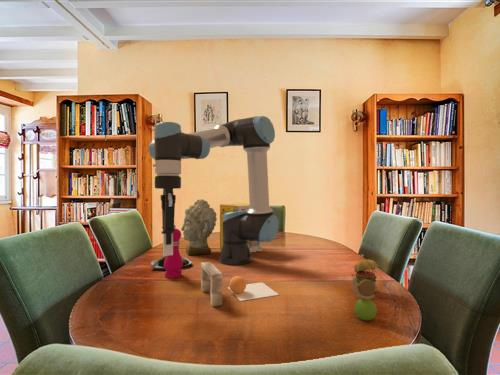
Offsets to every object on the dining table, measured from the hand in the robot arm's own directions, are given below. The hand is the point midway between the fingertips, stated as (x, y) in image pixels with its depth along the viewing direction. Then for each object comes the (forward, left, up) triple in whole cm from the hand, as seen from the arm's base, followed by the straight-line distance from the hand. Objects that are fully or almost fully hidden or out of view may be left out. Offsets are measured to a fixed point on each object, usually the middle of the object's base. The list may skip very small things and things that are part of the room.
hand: (168, 254), depth 87 cm
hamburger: (-62, +14, -15) cm, 65 cm away
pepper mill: (-5, -27, -15) cm, 31 cm away
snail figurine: (-46, +30, -15) cm, 57 cm away
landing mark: (-27, 0, -14) cm, 31 cm away
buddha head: (-23, -64, -15) cm, 70 cm away
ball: (-22, 0, -12) cm, 25 cm away
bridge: (-13, 0, -14) cm, 19 cm away
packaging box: (-45, -60, -15) cm, 76 cm away
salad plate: (-6, -43, -15) cm, 46 cm away
